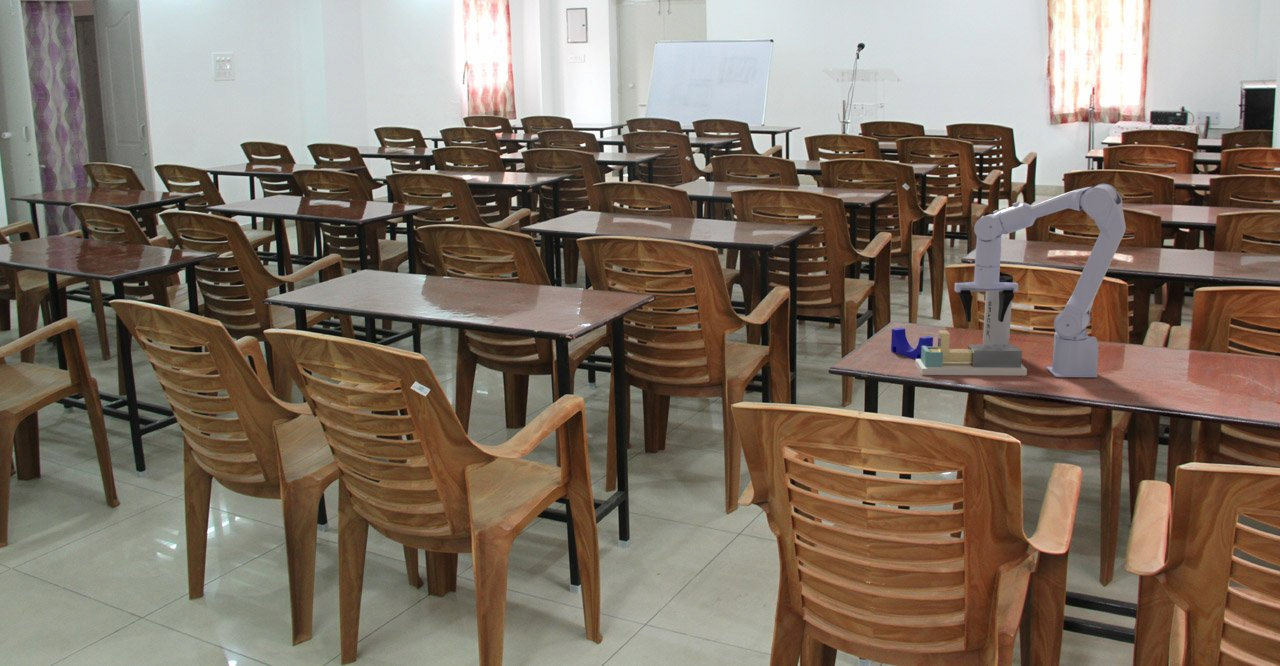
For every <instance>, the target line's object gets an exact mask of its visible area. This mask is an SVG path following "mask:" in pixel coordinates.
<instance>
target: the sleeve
mask: <svg viewBox="0 0 1280 666" xmlns="http://www.w3.org/2000/svg"><path fill="white" fill-rule="evenodd" d="M967 345H968V346H967V349H971V350H972V351H973V361H972V363H970V364H971V366H972V367H1008V368H1021V364H1022V358H1023V357H1022V356H1023V350H1022V349H1021V348H1020V347H1019V346H1017V345H1016V344H1009V345H983V344H967Z"/></svg>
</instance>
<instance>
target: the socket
mask: <svg viewBox="0 0 1280 666" xmlns="http://www.w3.org/2000/svg"><path fill="white" fill-rule="evenodd" d="M929 349H938V346H933V347H926V346H922V348H921V362H922V363H923V365H924V366H925V367H942V364H943V352H930V351H929Z"/></svg>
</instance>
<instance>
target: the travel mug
mask: <svg viewBox="0 0 1280 666" xmlns="http://www.w3.org/2000/svg"><path fill="white" fill-rule="evenodd" d="M999 282H1009V283H1014V276H1013V275H1011V274H1010V273H1005V272H1002V271H1000V274H999ZM984 300H985V301H984V302H985V303H984V318H983V319H984V321H983V336H982V345H1010V337H1011V336H1010V331H1011V322H1012V321H1011V318H1012V306H1013V305H1012V303H1013V302H1012V301H1013V300H1012V301H1011V302H1010V304H1009V306H1008V308H1007V310H1006V313H1005V316H1004V320H1003V322H1000V321H999V320H998V312H999V291H986V292H985V298H984Z"/></svg>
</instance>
